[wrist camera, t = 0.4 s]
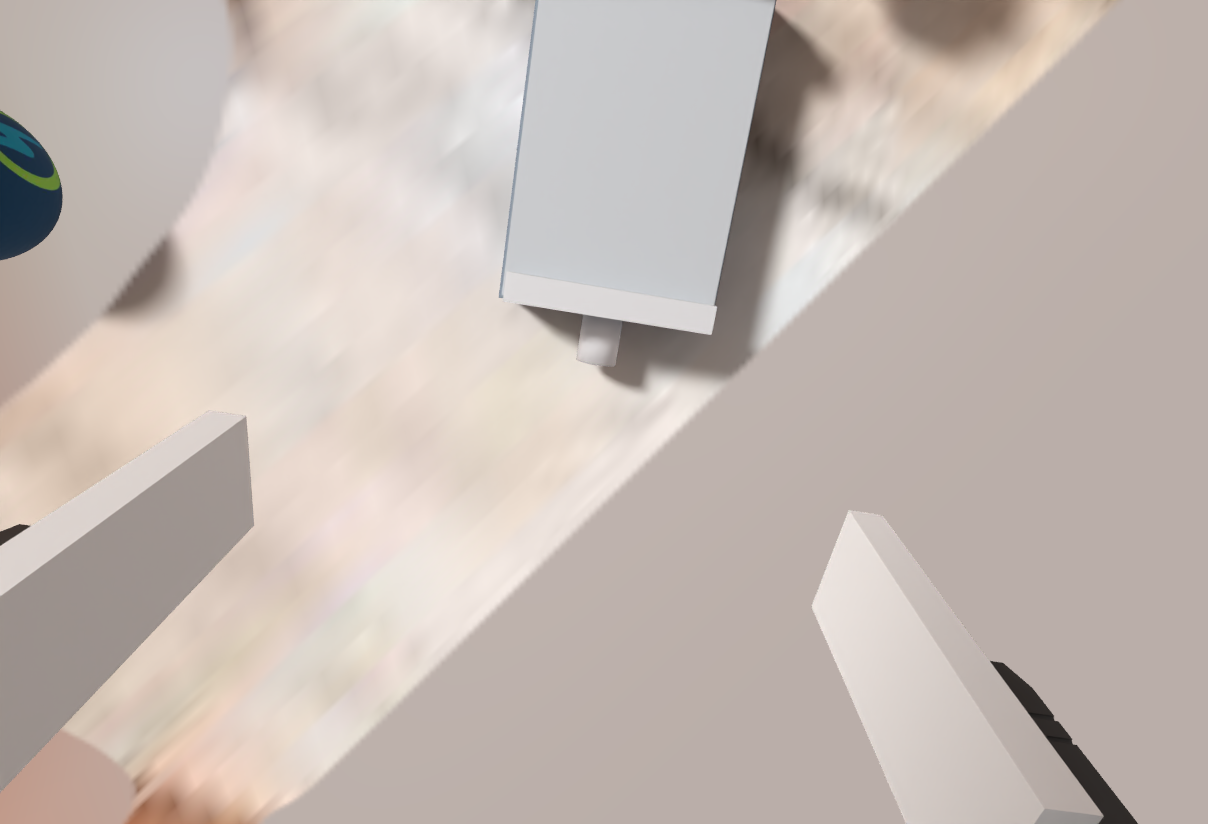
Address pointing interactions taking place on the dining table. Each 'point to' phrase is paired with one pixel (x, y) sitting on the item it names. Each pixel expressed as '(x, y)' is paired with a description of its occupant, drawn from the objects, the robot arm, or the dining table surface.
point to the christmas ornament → (25, 190)
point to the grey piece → (631, 161)
